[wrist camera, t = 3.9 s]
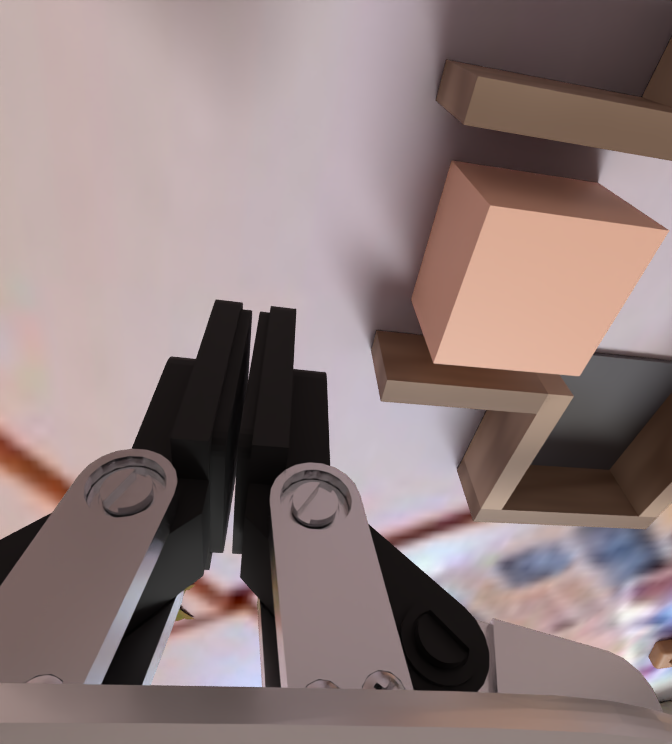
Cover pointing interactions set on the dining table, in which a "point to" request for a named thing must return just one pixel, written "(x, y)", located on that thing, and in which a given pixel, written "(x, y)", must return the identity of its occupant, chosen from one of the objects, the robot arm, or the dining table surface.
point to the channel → (542, 390)
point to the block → (527, 269)
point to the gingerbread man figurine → (661, 654)
